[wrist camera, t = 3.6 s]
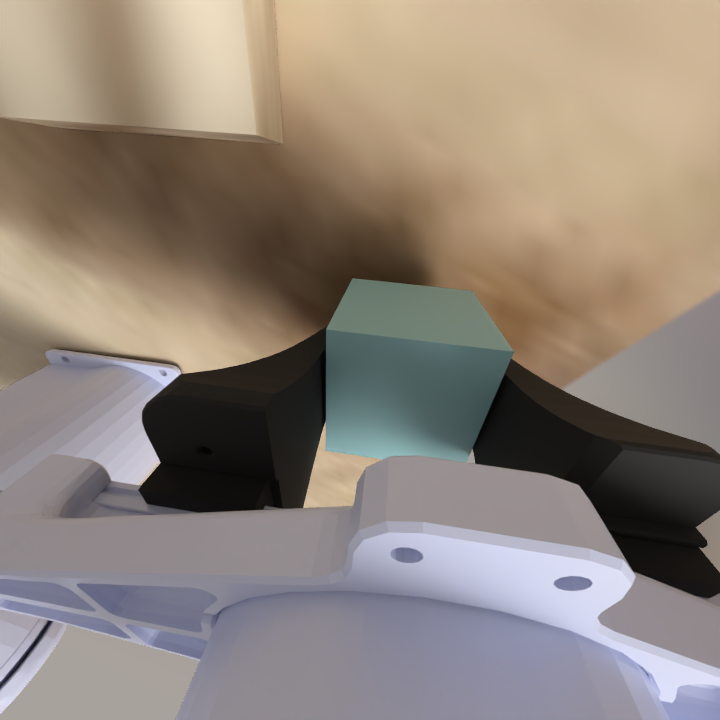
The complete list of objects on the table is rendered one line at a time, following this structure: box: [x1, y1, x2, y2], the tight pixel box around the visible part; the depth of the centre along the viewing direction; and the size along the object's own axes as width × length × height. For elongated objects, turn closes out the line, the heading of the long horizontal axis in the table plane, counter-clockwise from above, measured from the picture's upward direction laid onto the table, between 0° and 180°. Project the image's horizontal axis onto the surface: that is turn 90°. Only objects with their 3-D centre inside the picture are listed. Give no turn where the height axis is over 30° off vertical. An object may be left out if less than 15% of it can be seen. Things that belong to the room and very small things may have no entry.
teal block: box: [326, 278, 514, 462], centre depth 11 cm, size 5×5×5 cm
